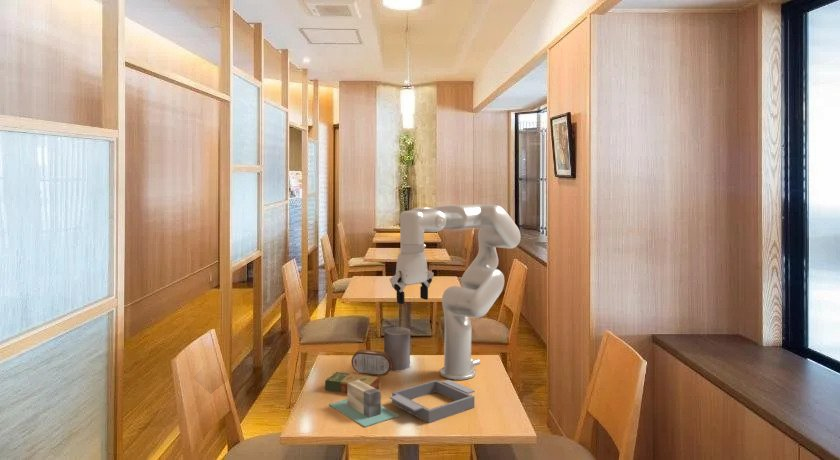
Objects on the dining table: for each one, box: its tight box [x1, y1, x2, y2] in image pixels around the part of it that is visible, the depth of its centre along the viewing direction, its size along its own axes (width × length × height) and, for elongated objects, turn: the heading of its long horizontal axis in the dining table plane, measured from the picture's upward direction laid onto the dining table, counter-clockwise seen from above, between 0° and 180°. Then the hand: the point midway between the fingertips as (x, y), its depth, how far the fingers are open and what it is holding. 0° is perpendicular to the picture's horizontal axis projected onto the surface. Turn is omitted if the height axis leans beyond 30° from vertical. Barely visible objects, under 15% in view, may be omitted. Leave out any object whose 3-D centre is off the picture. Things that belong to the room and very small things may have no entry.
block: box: [346, 380, 382, 418], centre depth 172 cm, size 4×12×7 cm, turn 39°
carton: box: [324, 371, 380, 394], centre depth 189 cm, size 8×16×4 cm, turn 71°
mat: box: [328, 398, 400, 428], centre depth 172 cm, size 12×20×1 cm, turn 39°
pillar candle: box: [383, 326, 411, 371], centre depth 211 cm, size 10×10×15 cm
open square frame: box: [389, 379, 475, 424], centre depth 176 cm, size 24×18×4 cm
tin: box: [350, 349, 393, 377], centre depth 203 cm, size 15×3×8 cm, turn 76°
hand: (412, 301), depth 186 cm, fingers open, 9 cm apart
